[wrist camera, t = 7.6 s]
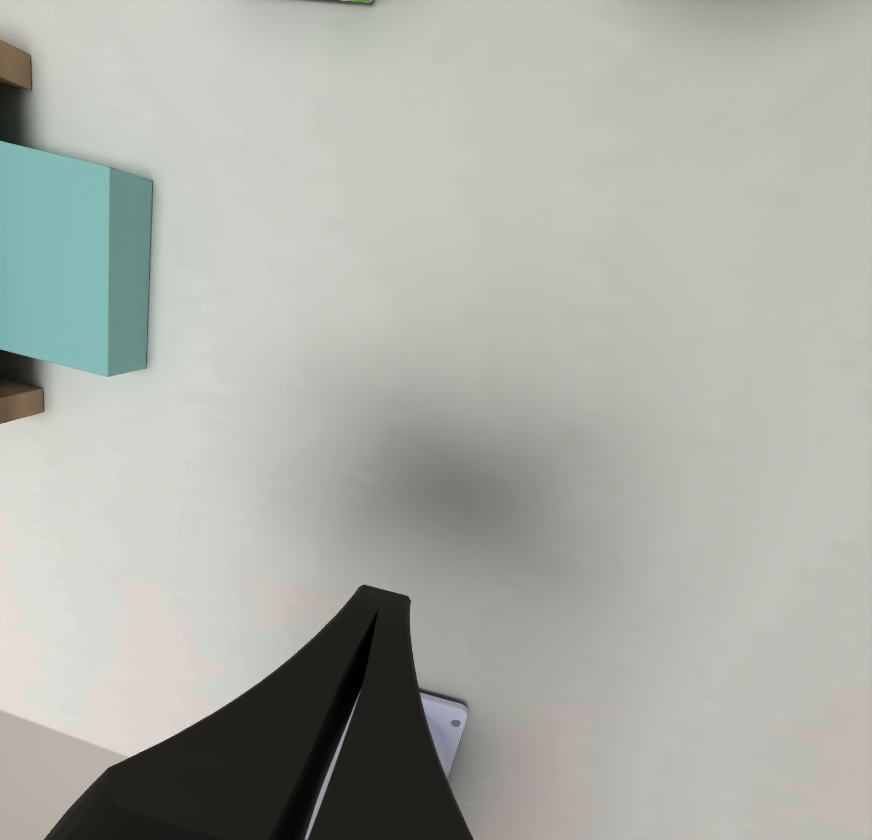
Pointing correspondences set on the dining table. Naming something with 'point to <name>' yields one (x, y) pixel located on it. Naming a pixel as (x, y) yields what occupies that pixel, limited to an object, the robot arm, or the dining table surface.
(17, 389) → the walnut overhang
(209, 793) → the robot arm
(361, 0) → the syrup box
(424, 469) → the dining table surface
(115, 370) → the teal flat block
